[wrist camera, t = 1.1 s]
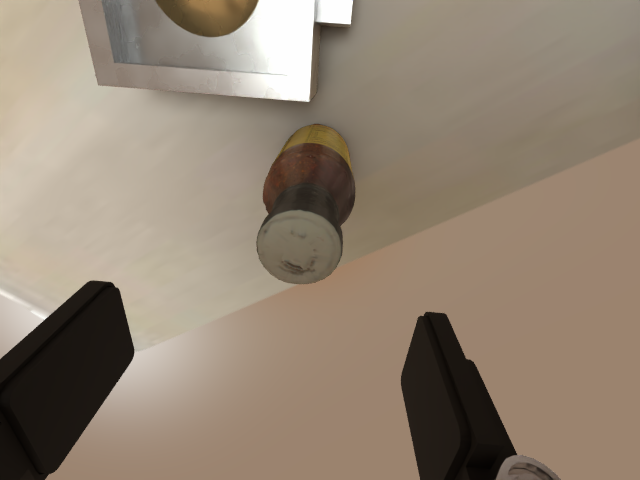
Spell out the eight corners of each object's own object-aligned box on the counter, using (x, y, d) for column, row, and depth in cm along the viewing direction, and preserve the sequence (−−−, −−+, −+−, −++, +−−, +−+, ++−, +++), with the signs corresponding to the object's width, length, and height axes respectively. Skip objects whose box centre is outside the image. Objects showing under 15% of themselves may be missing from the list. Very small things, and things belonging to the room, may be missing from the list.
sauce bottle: (313, 195, 35) (284, 330, 18) (273, 148, 33) (194, 249, 15) (364, 157, 33) (389, 267, 15) (324, 104, 31) (300, 162, 13)
